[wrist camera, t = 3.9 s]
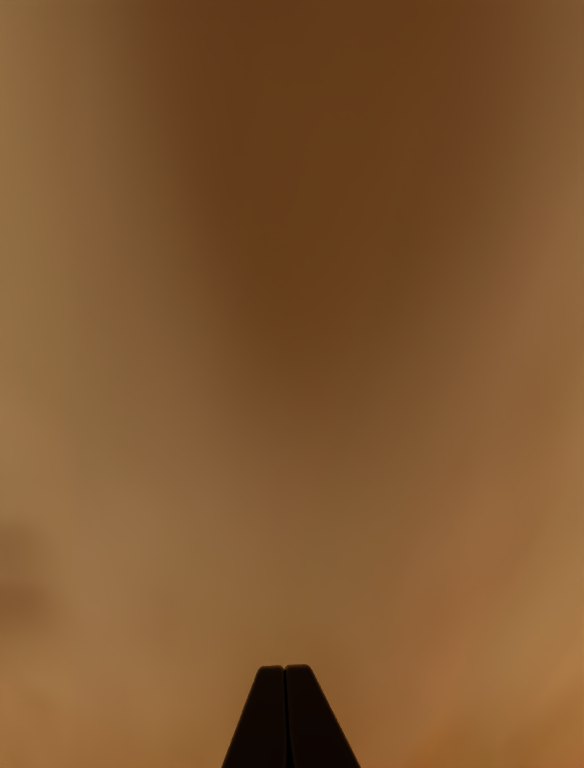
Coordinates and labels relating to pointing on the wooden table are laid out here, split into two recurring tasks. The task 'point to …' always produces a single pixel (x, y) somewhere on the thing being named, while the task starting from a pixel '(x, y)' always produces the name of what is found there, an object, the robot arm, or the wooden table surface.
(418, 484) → the wooden table surface
